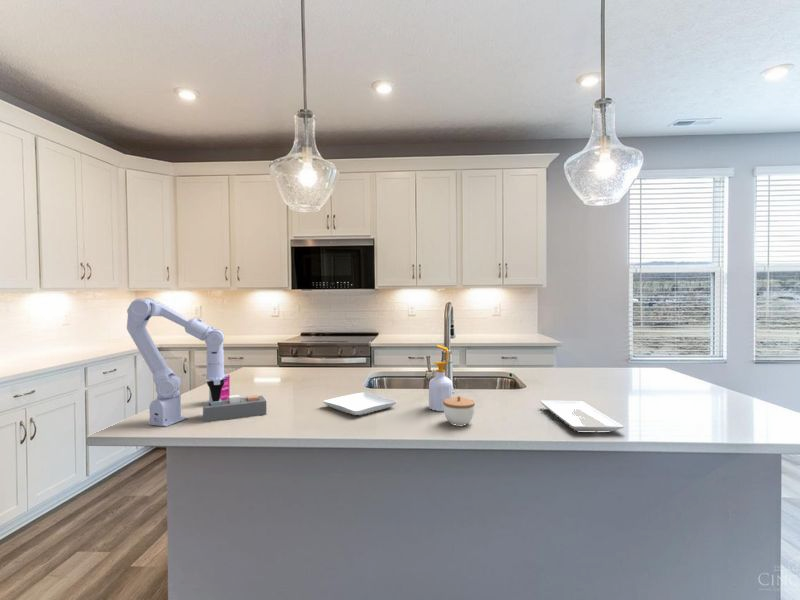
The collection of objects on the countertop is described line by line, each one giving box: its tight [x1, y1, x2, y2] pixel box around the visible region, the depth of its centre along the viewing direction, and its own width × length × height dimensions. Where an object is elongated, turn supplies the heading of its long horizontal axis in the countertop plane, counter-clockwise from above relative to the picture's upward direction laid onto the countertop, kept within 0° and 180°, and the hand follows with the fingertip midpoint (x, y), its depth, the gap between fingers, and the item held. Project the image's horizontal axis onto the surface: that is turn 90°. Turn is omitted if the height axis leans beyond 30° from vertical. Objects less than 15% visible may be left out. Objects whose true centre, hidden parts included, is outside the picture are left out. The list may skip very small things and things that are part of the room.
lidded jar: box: [443, 395, 476, 425], centre depth 150 cm, size 11×11×9 cm
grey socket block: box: [202, 395, 267, 423], centre depth 159 cm, size 21×9×5 cm, turn 117°
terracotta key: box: [246, 394, 259, 402], centre depth 162 cm, size 4×4×4 cm
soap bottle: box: [428, 344, 453, 412], centre depth 168 cm, size 9×9×25 cm
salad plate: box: [323, 391, 398, 416], centre depth 169 cm, size 21×21×3 cm
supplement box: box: [208, 374, 231, 402], centre depth 176 cm, size 6×6×12 cm
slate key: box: [210, 399, 222, 406], centre depth 157 cm, size 4×4×4 cm
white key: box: [229, 394, 241, 404], centre depth 159 cm, size 4×4×4 cm
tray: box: [540, 400, 625, 432], centre depth 153 cm, size 17×31×4 cm, turn 1°
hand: (215, 400), depth 156 cm, fingers closed, pressing on slate key
